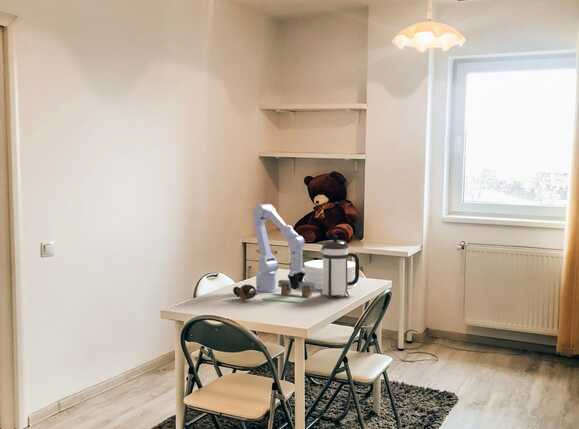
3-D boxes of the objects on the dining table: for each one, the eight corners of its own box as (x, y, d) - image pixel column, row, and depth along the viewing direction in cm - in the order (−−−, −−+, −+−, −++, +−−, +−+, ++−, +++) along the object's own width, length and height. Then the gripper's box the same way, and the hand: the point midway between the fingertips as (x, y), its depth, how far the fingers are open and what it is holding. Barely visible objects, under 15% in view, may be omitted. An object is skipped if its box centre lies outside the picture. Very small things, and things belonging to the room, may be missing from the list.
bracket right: (301, 296, 306) (301, 286, 305) (306, 294, 311) (306, 284, 310) (307, 297, 304) (307, 287, 304) (311, 294, 310) (311, 284, 309)
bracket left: (281, 294, 310) (281, 284, 309) (285, 292, 315) (285, 282, 315) (286, 295, 309) (286, 285, 308) (291, 293, 314) (291, 283, 313)
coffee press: (343, 301, 296) (344, 238, 294) (314, 297, 305) (314, 235, 302) (359, 294, 311) (360, 234, 308) (330, 290, 320) (331, 232, 317)
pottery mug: (258, 298, 304) (260, 285, 299) (251, 311, 296) (253, 298, 292) (234, 291, 306) (236, 278, 301) (227, 303, 298) (229, 290, 293)
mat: (262, 299, 299) (262, 298, 299) (269, 296, 307) (269, 295, 306) (301, 303, 292) (301, 302, 291) (307, 299, 299) (307, 298, 299)
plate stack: (358, 290, 321) (359, 268, 320) (304, 290, 322) (304, 268, 321) (354, 280, 349) (354, 259, 348) (304, 279, 350) (304, 259, 349)
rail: (278, 287, 311) (278, 280, 311) (281, 285, 314) (281, 279, 314) (312, 290, 304) (312, 283, 304) (314, 288, 307) (314, 282, 307)
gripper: (298, 263, 300) (298, 291, 301) (309, 259, 313) (309, 286, 315) (285, 262, 303) (285, 290, 304) (296, 258, 316) (296, 284, 317)
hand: (296, 288), depth 309 cm, fingers open, 5 cm apart
